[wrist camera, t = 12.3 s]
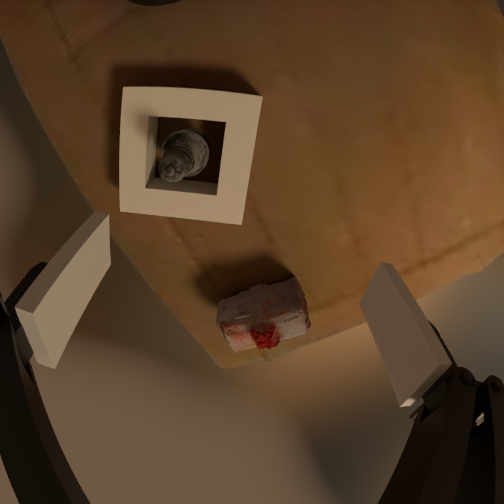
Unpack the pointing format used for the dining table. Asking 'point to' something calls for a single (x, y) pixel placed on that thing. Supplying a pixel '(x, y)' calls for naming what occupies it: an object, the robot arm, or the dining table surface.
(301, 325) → the food item
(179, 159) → the dark chess piece
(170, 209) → the square frame
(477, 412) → the robot arm
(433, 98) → the dining table surface
